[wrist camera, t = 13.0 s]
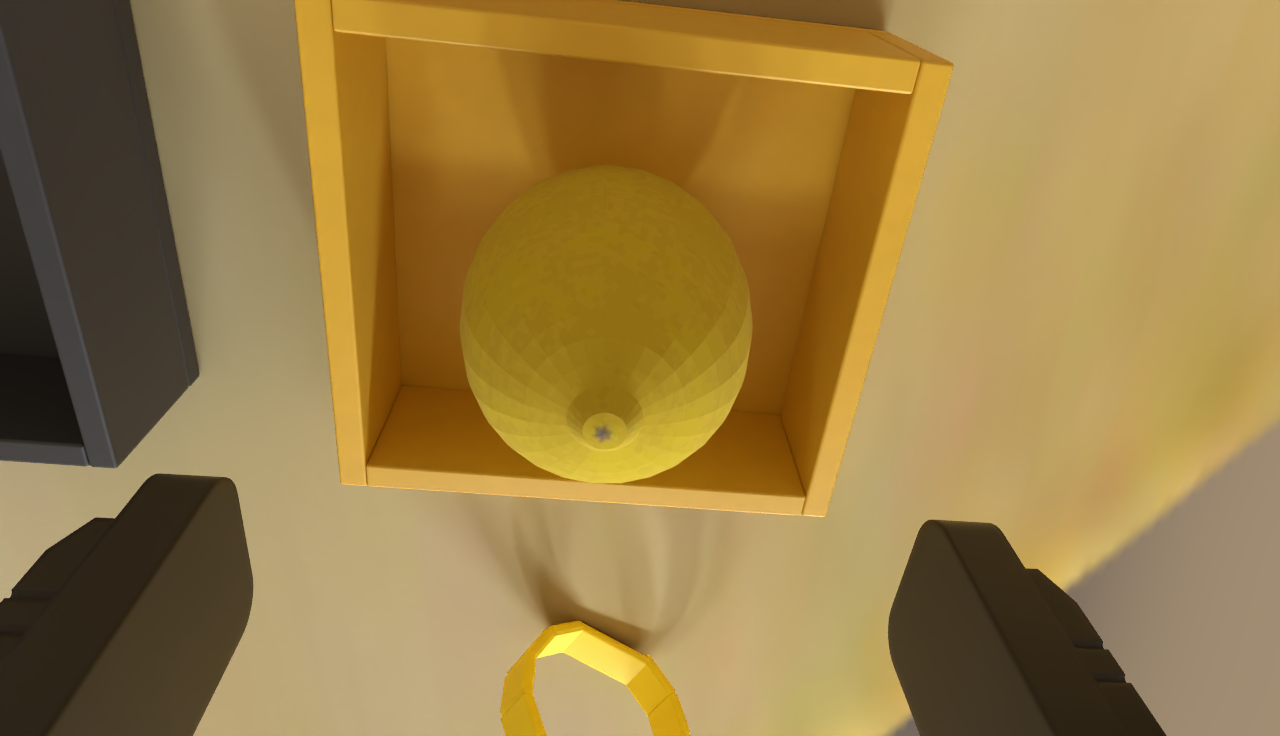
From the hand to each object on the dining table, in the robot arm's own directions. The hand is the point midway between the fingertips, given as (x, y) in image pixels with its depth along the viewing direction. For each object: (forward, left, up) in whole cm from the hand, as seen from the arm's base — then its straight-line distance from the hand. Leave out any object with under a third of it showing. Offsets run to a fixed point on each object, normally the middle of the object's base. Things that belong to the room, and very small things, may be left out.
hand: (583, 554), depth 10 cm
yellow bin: (0, 0, -11) cm, 11 cm away
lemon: (0, 0, -11) cm, 11 cm away
